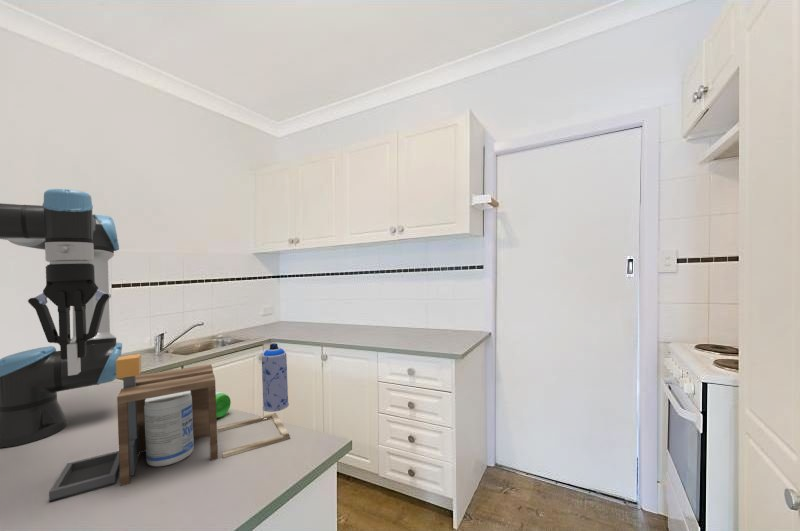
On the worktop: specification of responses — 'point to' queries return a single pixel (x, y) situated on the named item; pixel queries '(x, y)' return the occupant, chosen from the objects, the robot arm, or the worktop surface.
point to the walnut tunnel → (164, 384)
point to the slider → (128, 371)
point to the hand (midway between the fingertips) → (74, 373)
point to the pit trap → (86, 476)
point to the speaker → (222, 404)
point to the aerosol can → (274, 379)
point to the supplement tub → (168, 428)
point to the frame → (262, 443)
